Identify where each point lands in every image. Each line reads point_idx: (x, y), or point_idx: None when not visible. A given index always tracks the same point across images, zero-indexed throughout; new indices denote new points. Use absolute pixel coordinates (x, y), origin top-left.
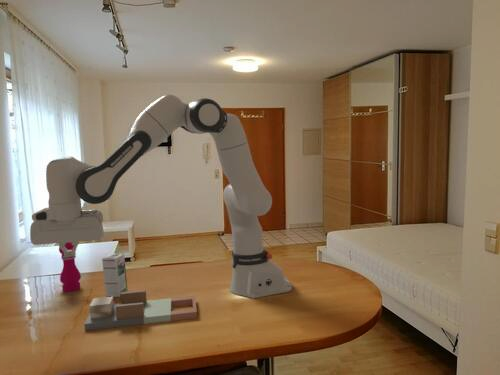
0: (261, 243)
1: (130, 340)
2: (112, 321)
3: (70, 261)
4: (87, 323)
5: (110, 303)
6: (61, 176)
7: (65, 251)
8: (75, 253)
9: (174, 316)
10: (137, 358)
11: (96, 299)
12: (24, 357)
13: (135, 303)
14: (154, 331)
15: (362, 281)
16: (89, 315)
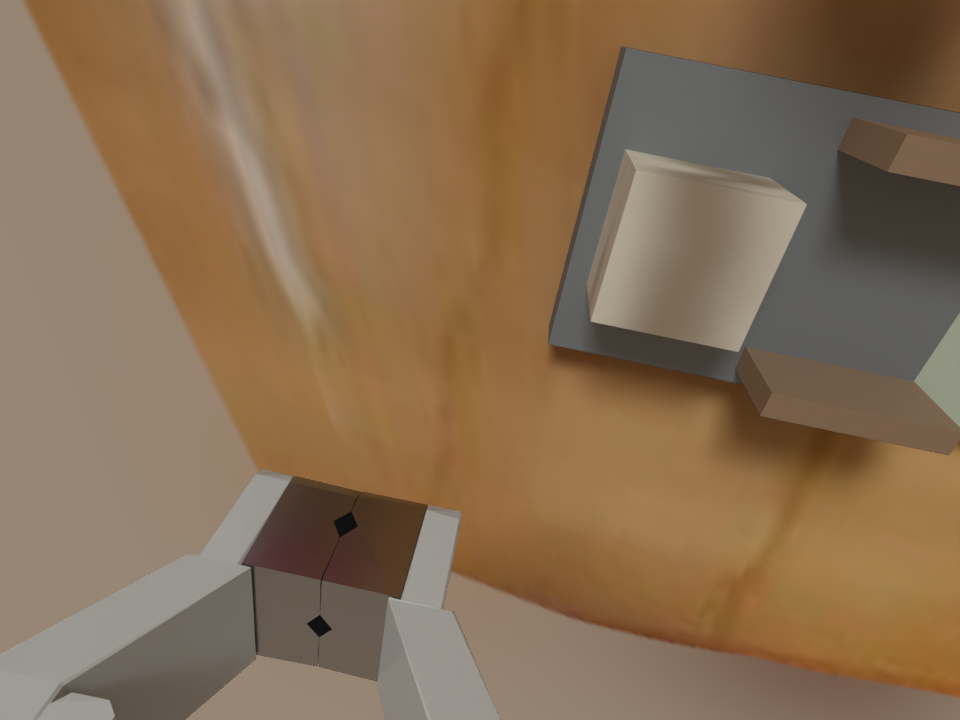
0: None
1: (742, 510)
2: (706, 376)
3: None
4: (565, 345)
5: (744, 334)
6: None
7: (248, 657)
8: (456, 538)
9: None
10: (725, 622)
11: (656, 214)
12: (313, 450)
13: (906, 428)
14: (879, 486)
15: None
16: (583, 231)
